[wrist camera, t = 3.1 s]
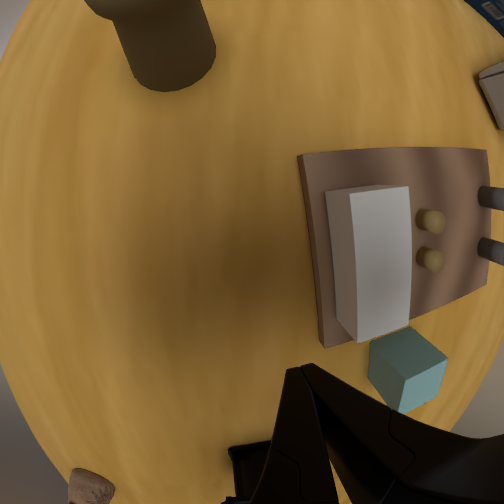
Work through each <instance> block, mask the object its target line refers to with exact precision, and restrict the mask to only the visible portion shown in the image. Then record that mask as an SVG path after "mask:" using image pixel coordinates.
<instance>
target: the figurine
mask: <svg viewBox="0 0 504 504" xmlns="http://www.w3.org/2000/svg"><path fill="white" fill-rule="evenodd" d="M114 492H115V486H114V485H113V484H112V483H111V482H110V481H108V480H107V479H105V478H103V477H101V476H99V475H97V474H95V473H93V472H90V471H87V470H84V469H78V468H77V469H74V470H73V471H72V473H71V475H70V480H69V487H68V503H69V504H109V503H110V500H111V499H112V498H113V496H114Z"/></svg>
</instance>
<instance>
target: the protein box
mask: <svg viewBox="0 0 504 504" xmlns="http://www.w3.org/2000/svg"><path fill="white" fill-rule="evenodd" d="M464 1H466V2H467V3H468V4H469V5H470V6H472V7H473V8H474V9H475V10H476V11H477V12H478V13H480V14H481V15H482V16H483V17H484V18H485V19H486V20H487V21H488V22H489V23H490V24H491V25H492V26H493V27H494V28H495V29H496V30H497V31H498V32H499V33H500V34H501V35H502V36H503V37H504V0H464Z"/></svg>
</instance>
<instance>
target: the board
mask: <svg viewBox="0 0 504 504" xmlns="http://www.w3.org/2000/svg"><path fill="white" fill-rule="evenodd" d="M297 157H298V163H299V169H300V175H301V181H302V187H303V194H304V200H305V207H306V214H307V221H308V229H309V236H310V244H311V252H312V261H313V270H314V279H315V289H316V300H317V311H318V324H319V338H320V342H321V344H322V345H323V347H324V348H329V347H332V346H335V345H339V344H342V343H345V342H349V341H352V340H354V339H353V338H352V337H351V336H350V334H349V333H348V332H347V331H346V330H345V328H344V327H343V326H342V325H341V324H340V322H339V321H338V320H337V314H336V296H335V281H334V268H333V257H332V246H331V237H330V228H329V219H328V211H327V204H326V197H325V192H326V191H333V190H340V189H347V188H355V187H362V186H370V185H395V186H408V188H409V199H410V212H411V233H412V277H411V298H410V311H409V320H411V319H413V318H415V317H418V316H420V315H423V314H425V313H427V312H430V311H432V310H434V309H437V308H439V307H441V306H443V305H446V304H448V303H450V302H452V301H454V300H456V299H458V298H460V297H463V296H465V295H467V294H469V293H471V292H473V291H475V290H476V289H478V288H480V287H482V286H484V285H486V283H487V275H488V266H489V260H490V261H493V262H495V263H498V264H500V265H503V266H504V243H502V242H499V241H495V240H492V239H491V208H492V209H497V210H502V211H504V188H497V187H490V177H489V166H488V158H487V150H481V149H466V148H439V147H401V148H373V149H356V150H342V151H331V152H320V153H311V154H302V155H300V156H297Z"/></svg>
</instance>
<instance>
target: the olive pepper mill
mask: <svg viewBox="0 0 504 504" xmlns="http://www.w3.org/2000/svg"><path fill="white" fill-rule="evenodd" d="M84 1H85V2H86V3H87V5H88V6H89V7H90V8H91V9H92V10H93V11H94V12H95V13H96V14H97V15H99V16H101V17H103V18H106V19H109V20H112V21H113V23H114V26H115V29H116V31H117V34H118V37H119V39H120V42H121V45H122V47H123V50H124V52H125V55H126V57H127V60H128V63H129V65H130V68H131V70H132V73H133V75H134V77H135V78H136V79H137V81H138V82H139V83H140V84H141V85H143V86H145V87H147V88H148V89H150V90H155V91H162V92H167V91H176V90H180V89H182V88H185V87H188V86H190V85H192V84H194V83H195V82H197V81H198V80H200V79H201V78H203V76H204V75H205V74H206V73H207V72H208V71H209V69H210V68H211V67H212V64H213V62H214V59H215V57H216V45H215V42H214V39H213V36H212V33H211V30H210V27H209V24H208V21H207V18H206V15H205V13H204V10H203V7H202V4H201V1H200V0H84Z"/></svg>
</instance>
